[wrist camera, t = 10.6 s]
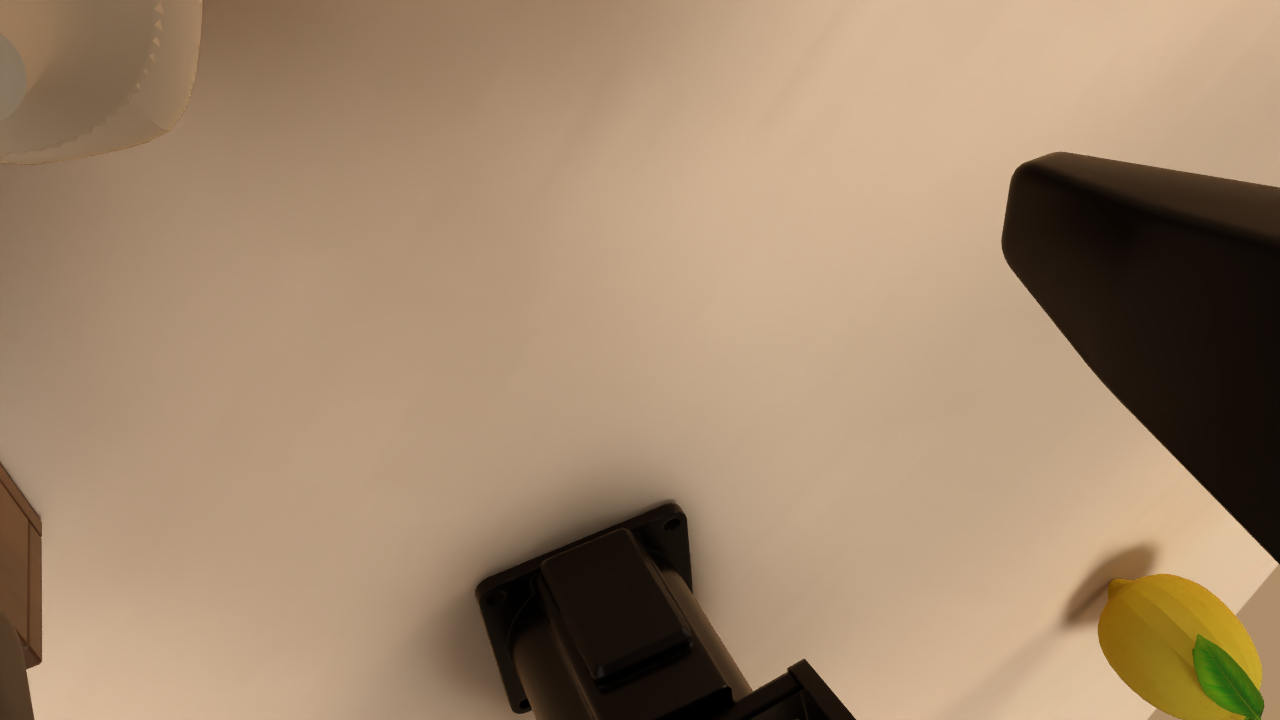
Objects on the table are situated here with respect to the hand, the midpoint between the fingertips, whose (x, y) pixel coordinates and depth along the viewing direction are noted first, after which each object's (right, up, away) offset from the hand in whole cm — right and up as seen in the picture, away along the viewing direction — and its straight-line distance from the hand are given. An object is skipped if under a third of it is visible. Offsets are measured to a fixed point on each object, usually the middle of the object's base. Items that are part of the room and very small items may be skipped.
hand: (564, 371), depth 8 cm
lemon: (+23, -10, +40) cm, 47 cm away
